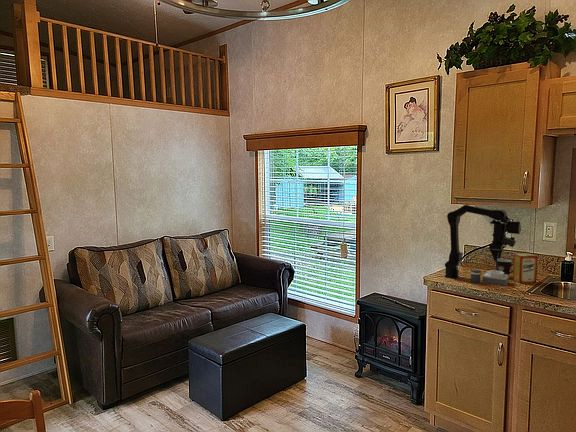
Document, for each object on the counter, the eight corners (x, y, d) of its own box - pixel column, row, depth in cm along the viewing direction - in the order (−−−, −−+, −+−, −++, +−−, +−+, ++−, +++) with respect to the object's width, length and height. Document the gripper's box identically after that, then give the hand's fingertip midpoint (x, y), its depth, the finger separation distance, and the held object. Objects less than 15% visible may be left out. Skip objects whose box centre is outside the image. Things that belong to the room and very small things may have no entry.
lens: (469, 282, 234) (469, 270, 233) (471, 281, 238) (472, 268, 237) (479, 284, 231) (479, 271, 230) (481, 282, 235) (482, 270, 234)
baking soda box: (519, 283, 232) (520, 255, 230) (513, 280, 238) (514, 253, 237) (536, 283, 232) (537, 255, 231) (529, 280, 239) (530, 253, 237)
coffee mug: (491, 275, 250) (492, 259, 249) (502, 274, 253) (502, 258, 252) (507, 280, 239) (508, 263, 238) (518, 278, 242) (519, 262, 241)
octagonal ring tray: (482, 282, 235) (482, 272, 234) (485, 279, 242) (486, 269, 241) (505, 285, 227) (506, 275, 227) (508, 282, 234) (509, 271, 234)
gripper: (512, 235, 217) (510, 264, 219) (518, 231, 232) (516, 258, 233) (489, 233, 224) (487, 261, 225) (496, 229, 238) (494, 256, 240)
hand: (497, 259), depth 231 cm, fingers open, 9 cm apart
